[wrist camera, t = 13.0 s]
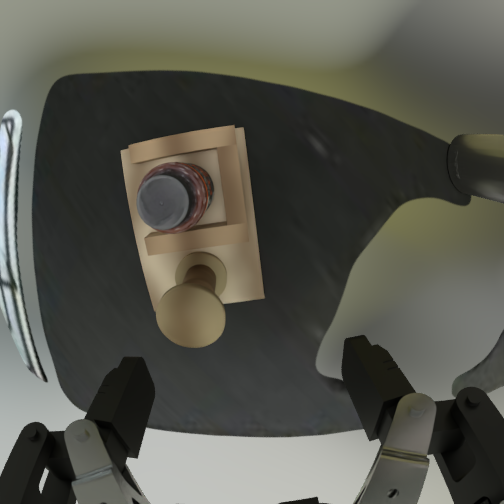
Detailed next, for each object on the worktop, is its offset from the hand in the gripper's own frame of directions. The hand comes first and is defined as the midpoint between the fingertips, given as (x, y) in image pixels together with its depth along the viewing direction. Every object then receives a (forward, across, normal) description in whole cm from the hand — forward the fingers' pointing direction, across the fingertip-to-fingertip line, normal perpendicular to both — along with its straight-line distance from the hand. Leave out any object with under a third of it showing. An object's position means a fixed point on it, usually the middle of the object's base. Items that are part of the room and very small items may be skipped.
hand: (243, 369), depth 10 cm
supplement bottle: (+22, +5, -5) cm, 24 cm away
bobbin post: (+23, +5, +5) cm, 24 cm away
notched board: (+23, +5, -1) cm, 24 cm away
